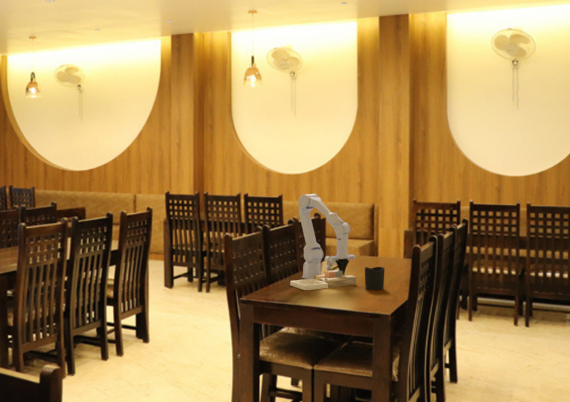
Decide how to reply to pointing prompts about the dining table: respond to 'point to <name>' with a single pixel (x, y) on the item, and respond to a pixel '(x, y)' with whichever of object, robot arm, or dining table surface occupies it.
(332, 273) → the terracotta cube
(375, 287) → the pen holder
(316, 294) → the dining table surface
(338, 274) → the matte grey cube
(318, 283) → the tray
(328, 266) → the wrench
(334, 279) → the grooved board
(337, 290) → the dining table surface
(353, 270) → the dining table surface
